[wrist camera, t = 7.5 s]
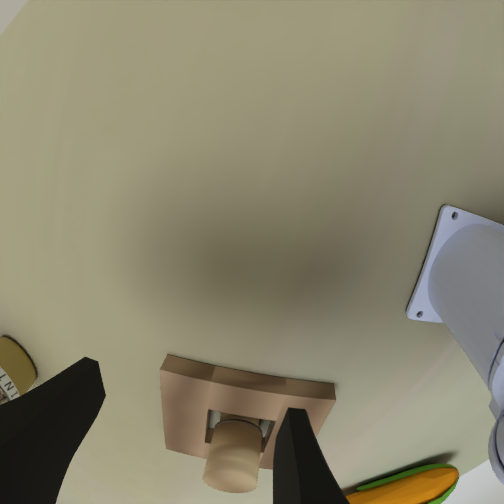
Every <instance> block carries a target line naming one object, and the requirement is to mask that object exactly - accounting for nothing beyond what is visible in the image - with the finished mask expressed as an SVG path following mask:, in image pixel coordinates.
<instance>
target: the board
mask: <svg viewBox="0 0 504 504" xmlns="http://www.w3.org/2000/svg"><path fill="white" fill-rule="evenodd" d="M160 380H161V397H162V411H163V424H164V434H165V444H166V449H168V450H172V451H176V452H180V453H183V454H187V455H191V456H196V457H200V458H205V459H207V457H208V453H209V449H210V445H211V441H212V437H213V433H214V429H210V428H208V426H209V417H210V410H214V411H219V412H224V413H229V414H235V415H240V416H246V417H252V418H258V419H265V420H271V423H270V426H269V428H268V431H267V434H266V436H265V438H262V440H261V450H260V460H259V468H264V469H273V457H274V448H275V440H276V436H277V433H278V431H279V429H280V426H281V424H282V421H283V419H284V416H285V414H286V411H287V409H288V407H291V408H300V409H305V410H306V411H307V413H308V417H309V420H310V423H311V426H312V429H313V432H314V434H315V437H316V436H317V434H318V432H319V431H320V429H321V427H322V425H323V424H324V422H325V420H326V418H327V416H328V415H329V413H330V411H331V409H332V407H333V405H334V403H335V401H336V396H335V390H334V384H331V383H321V382H312V381H304V380H296V379H289V378H282V377H275V376H268V375H262V374H256V373H251V372H245V371H240V370H234V369H229V368H224V367H219V366H214V365H210V364H205V363H201V362H196V361H192V360H188V359H184V358H180V357H176V356H172V355H167V357H166V359H165V360H164V362H163V364H162V366H161V368H160Z"/></svg>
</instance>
